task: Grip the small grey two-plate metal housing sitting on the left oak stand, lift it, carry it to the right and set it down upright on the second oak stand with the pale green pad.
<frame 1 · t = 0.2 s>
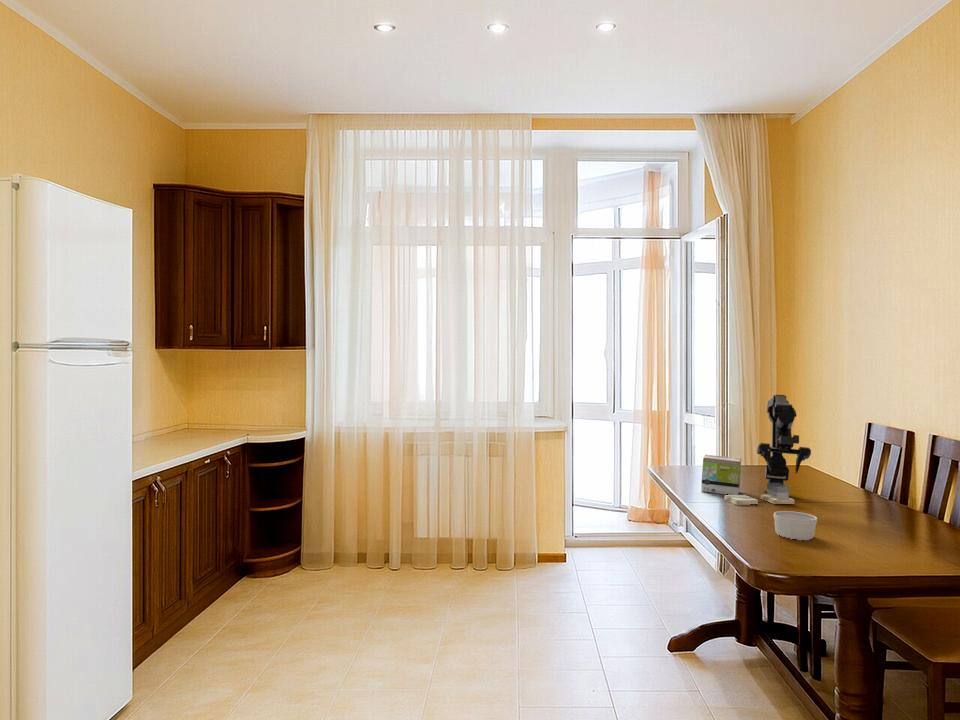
hand: (783, 471, 275), 14 cm above the table, tool tilted 30°, fingers open, 9 cm apart
stand a: (777, 502, 287), on the table
tea box: (720, 492, 303), on the table
housing: (777, 497, 287), point 2 cm above the table, touching stand a
ramekin: (794, 536, 237), on the table
stand b: (740, 502, 284), on the table
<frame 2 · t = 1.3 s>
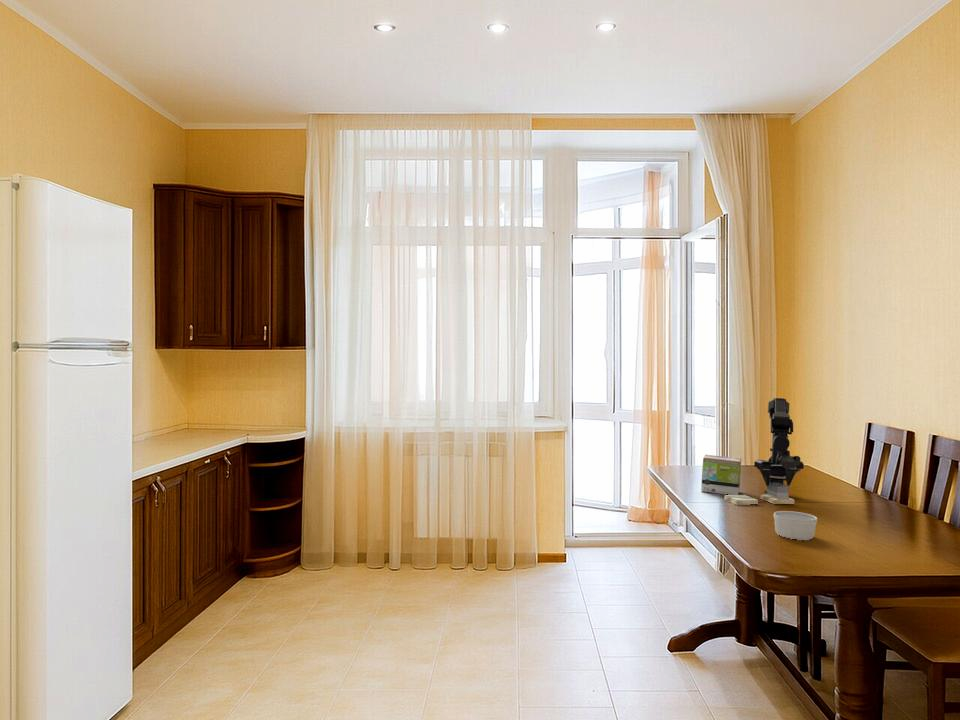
hand: (778, 485, 287), 7 cm above the table, tool pointing down, fingers open, 9 cm apart
nothing on the table moved.
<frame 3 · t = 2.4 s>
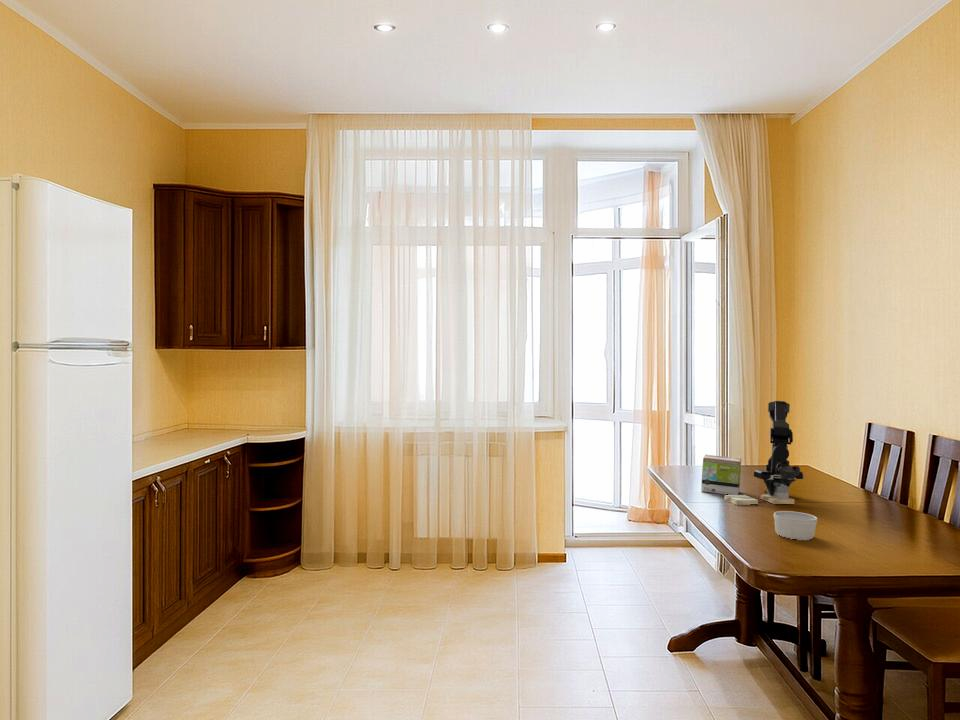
hand: (777, 495, 287), 3 cm above the table, tool pointing down, fingers closed on housing, 5 cm apart
housing: (777, 497, 287), point 2 cm above the table, touching gripper, stand a
everything else where it was.
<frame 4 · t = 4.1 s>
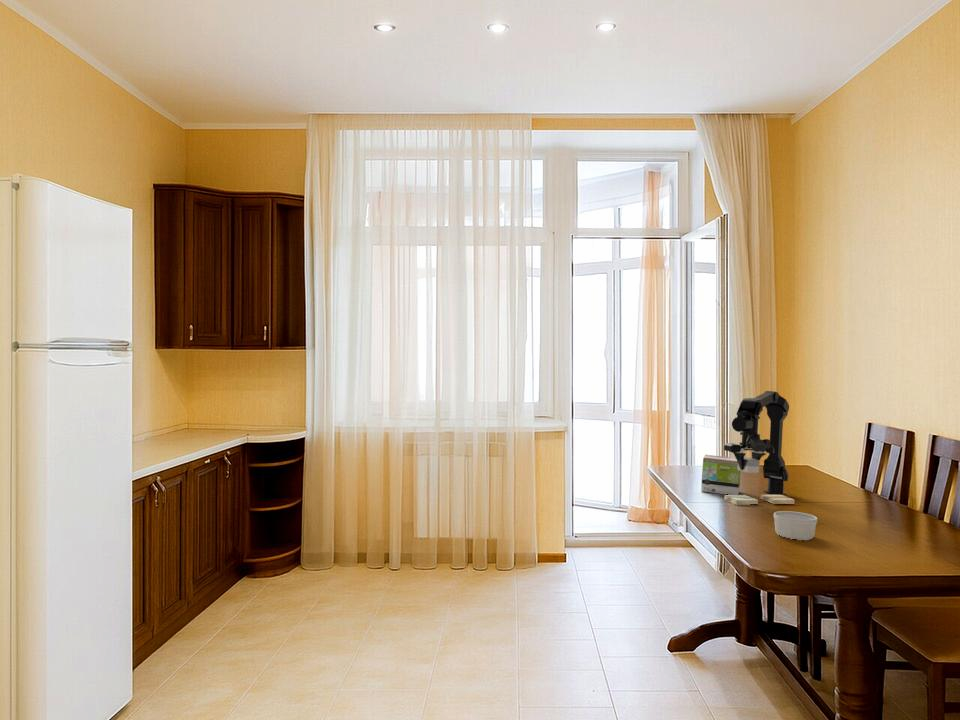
hand: (747, 469, 284), 13 cm above the table, tool pointing down, fingers closed on housing, 5 cm apart
housing: (747, 471, 284), point 13 cm above the table, touching gripper
everything else where it was.
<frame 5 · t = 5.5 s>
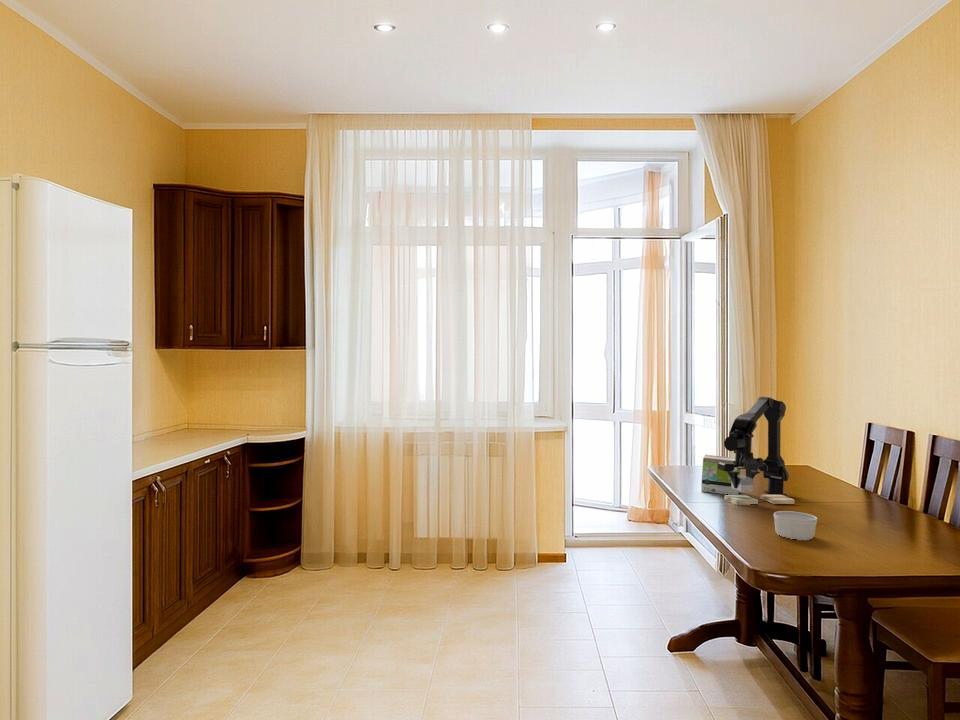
hand: (741, 488, 284), 6 cm above the table, tool pointing down, fingers closed on housing, 5 cm apart
housing: (741, 489, 284), point 5 cm above the table, touching gripper
everything else where it was.
when the fingers open (3 cm above the table, at t = 6.4 s): housing stays where it is, resting on stand b.
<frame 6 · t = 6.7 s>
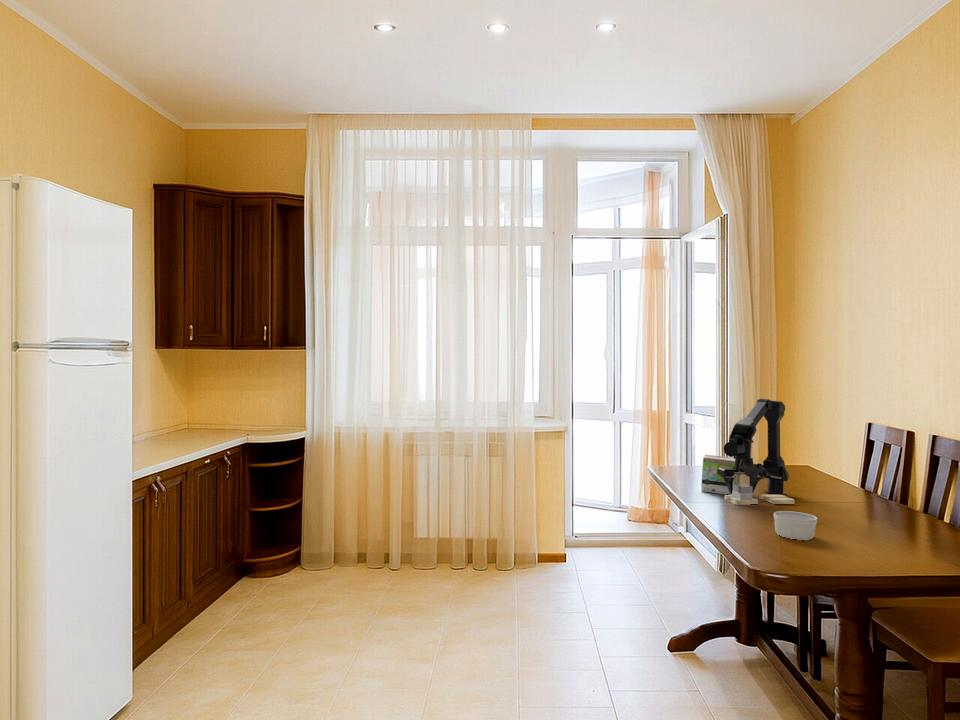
hand: (741, 493, 284), 3 cm above the table, tool pointing down, fingers open, 9 cm apart
housing: (741, 497, 284), point 2 cm above the table, touching stand b
everything else where it was.
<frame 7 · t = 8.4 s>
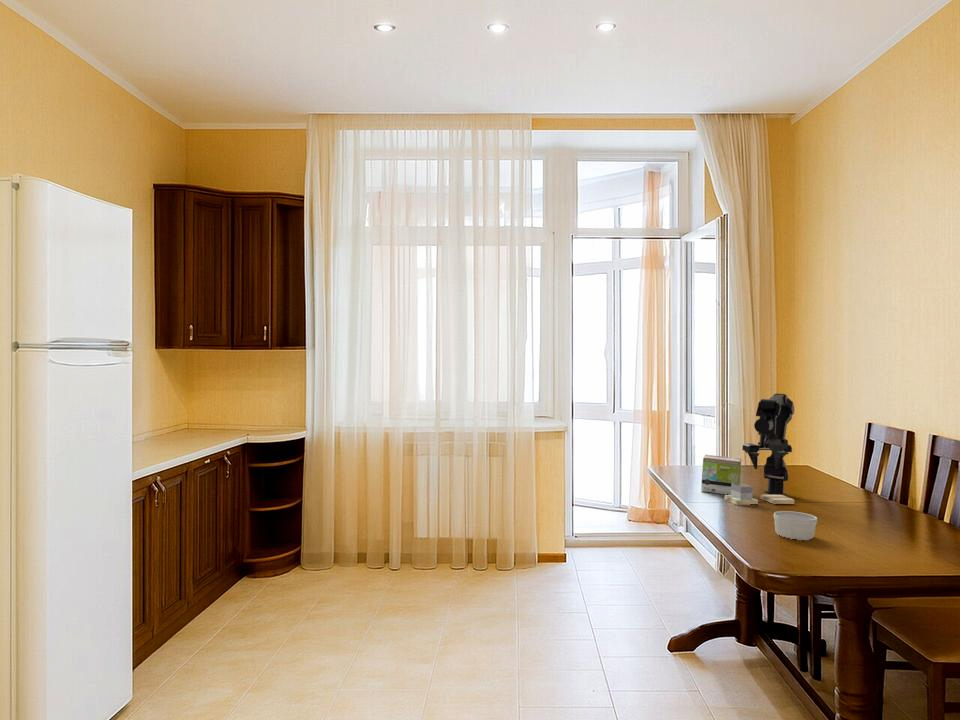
hand: (766, 469, 289), 13 cm above the table, tool pointing down, fingers open, 9 cm apart
nothing on the table moved.
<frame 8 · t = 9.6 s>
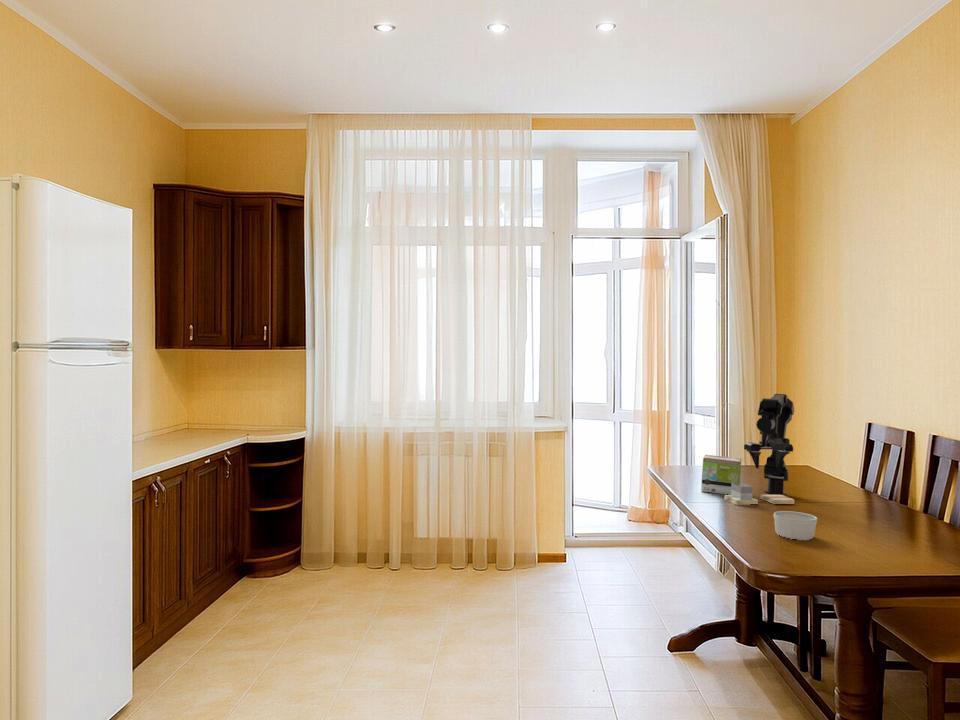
hand: (767, 468, 289), 13 cm above the table, tool pointing down, fingers open, 9 cm apart
nothing on the table moved.
at the end: housing inside the target area on the stand b (0.1 cm from its centre), point 2.0 cm above the stand b's base; housing tilted 0°; the gripper is holding nothing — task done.
